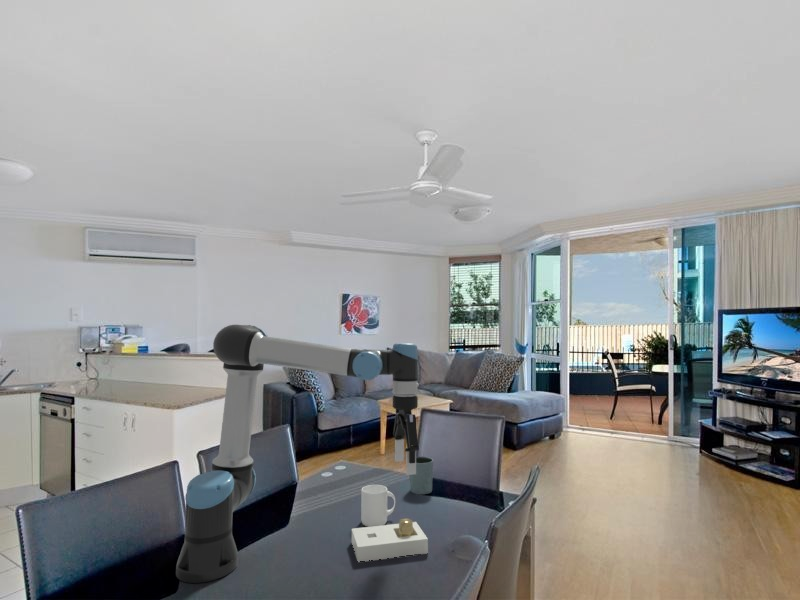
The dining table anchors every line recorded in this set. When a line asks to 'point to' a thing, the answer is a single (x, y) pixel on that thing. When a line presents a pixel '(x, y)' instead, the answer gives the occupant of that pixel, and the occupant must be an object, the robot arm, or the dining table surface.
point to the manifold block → (387, 542)
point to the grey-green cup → (422, 476)
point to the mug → (375, 505)
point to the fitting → (405, 527)
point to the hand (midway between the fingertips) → (404, 467)
